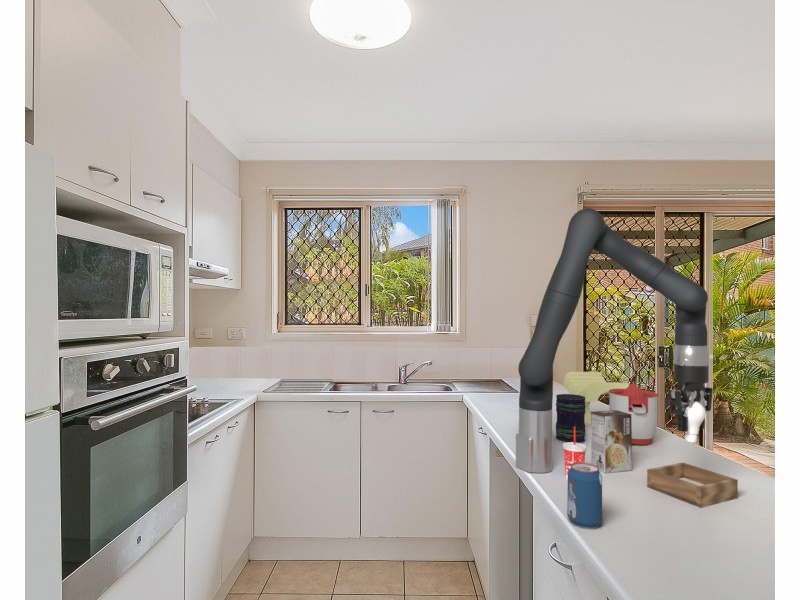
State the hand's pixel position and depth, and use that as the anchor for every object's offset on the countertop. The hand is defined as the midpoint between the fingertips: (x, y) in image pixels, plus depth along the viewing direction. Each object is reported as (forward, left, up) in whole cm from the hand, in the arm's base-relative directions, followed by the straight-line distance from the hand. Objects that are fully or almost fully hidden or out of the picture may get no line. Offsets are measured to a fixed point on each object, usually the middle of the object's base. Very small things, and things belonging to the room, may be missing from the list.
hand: (690, 429), depth 121 cm
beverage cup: (-20, +19, -16) cm, 32 cm away
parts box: (0, 0, -16) cm, 16 cm away
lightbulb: (0, 0, -4) cm, 4 cm away
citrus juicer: (+26, +38, -16) cm, 49 cm away
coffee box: (-4, +21, -16) cm, 27 cm away
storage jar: (+8, +49, -16) cm, 52 cm away
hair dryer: (+39, +67, -16) cm, 79 cm away
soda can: (-38, -2, -16) cm, 41 cm away
